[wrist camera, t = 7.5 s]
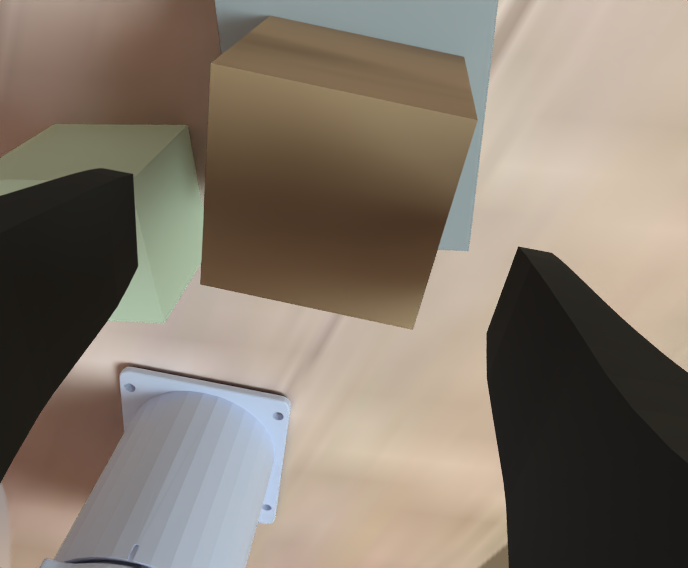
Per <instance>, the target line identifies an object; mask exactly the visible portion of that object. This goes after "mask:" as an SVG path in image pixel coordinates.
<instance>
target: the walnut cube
mask: <svg viewBox="0 0 688 568" xmlns="http://www.w3.org/2000/svg"><path fill="white" fill-rule="evenodd" d="M477 121H478V119H477V114H476V110H475V105H474V100H473V96H472V91H471V86H470V82H469V77H468V72H467V68H466V63H465V58H464V57H462V56H458V55H453V54H448V53H444V52H439V51H434V50H430V49H425V48H420V47H416V46H411V45H406V44H402V43H397V42H392V41H388V40H383V39H378V38H374V37H369V36H364V35H360V34H355V33H350V32H346V31H341V30H336V29H332V28H327V27H322V26H317V25H313V24H308V23H303V22H299V21H294V20H289V19H285V18H280V17H275V16H269V17H268V18H267V19H266V20H264V21H263V22H262V23H260V24H259V25H258V26H257V27H255V28H254V29H253V30H252V31H250V32H249V33H248V34H247V35H245V36H244V37H243V38H242V39H240V40H239V41H238V42H237V43H235V44H234V45H233V46H232V47H230V48H229V49H228V50H227V51H225V52H224V53H223V54H222V55H220V56H219V57H218V58H216V59H215V60H214V61H213V62H211V68H210V89H209V110H208V132H207V153H206V174H205V195H204V216H203V238H202V259H201V280H200V284H201V285H206V286H211V287H215V288H220V289H225V290H229V291H234V292H239V293H244V294H248V295H253V296H258V297H262V298H267V299H272V300H276V301H281V302H286V303H290V304H295V305H300V306H304V307H309V308H314V309H318V310H323V311H328V312H332V313H337V314H342V315H346V316H351V317H356V318H360V319H365V320H370V321H374V322H379V323H384V324H388V325H393V326H398V327H403V328H407V329H412V330H413V327H414V324H415V321H416V318H417V315H418V311H419V308H420V305H421V302H422V298H423V295H424V292H425V289H426V286H427V282H428V279H429V276H430V273H431V269H432V266H433V263H434V260H435V257H436V253H437V250H438V247H439V244H440V240H441V237H442V234H443V231H444V228H445V224H446V221H447V218H448V215H449V211H450V208H451V205H452V202H453V199H454V195H455V192H456V189H457V186H458V182H459V179H460V176H461V173H462V170H463V166H464V163H465V160H466V157H467V153H468V150H469V147H470V144H471V140H472V137H473V134H474V131H475V128H476V124H477Z"/></svg>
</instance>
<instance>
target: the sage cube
mask: <svg viewBox="0 0 688 568" xmlns="http://www.w3.org/2000/svg"><path fill="white" fill-rule="evenodd" d="M97 168H105V169H110V170H115V171H121V172H126V173H131V174H133V180H134V198H135V217H136V235H137V253H138V268H137V270H136V272H135V274H134V276H133V278H132V280H131V282H130V284H129V286H128V288H127V290H126V292H125V294H124V296H123V298H122V299H121V301H120V303H119V305H118V307H117V308H116V310H115V311H114V312H113V314H112V315H111V317H110V318H109V319H108V321H126V322H147V323H165V321H166V320H167V318H168V316H169V315H170V313H171V312H172V310H173V308H174V307H175V305H176V303H177V302H178V300H179V298H180V297H181V295H182V293H183V292H184V290H185V288H186V287H187V285H188V284H189V282H190V280H191V279H192V277H193V275H194V274H195V272H196V270H197V269H198V267H199V265H200V264H201V259H202V238H203V216H204V213H203V208H202V202H201V196H200V191H199V185H198V180H197V174H196V168H195V163H194V157H193V152H192V146H191V140H190V135H189V129H188V125H142V124H53V125H51V126H50V127H48V128H47V129H45V130H43V131H42V132H40V133H39V134H37V135H35V136H34V137H32V138H31V139H29V140H27V141H26V142H24V143H23V144H21V145H19V146H18V147H16V148H15V149H13V150H12V151H10V152H8V153H7V154H5V155H4V156H2V157H0V196H1V195H5V194H8V193H11V192H14V191H18V190H21V189H24V188H27V187H31V186H34V185H37V184H40V183H44V182H47V181H50V180H53V179H57V178H60V177H64V176H67V175H70V174H74V173H78V172H82V171H86V170H90V169H97Z"/></svg>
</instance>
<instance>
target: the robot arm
mask: <svg viewBox="0 0 688 568" xmlns="http://www.w3.org/2000/svg"><path fill="white" fill-rule="evenodd" d="M137 268H138V253H137V235H136V217H135V198H134V180H133V174H131V173H126V172H121V171H115V170H110V169H105V168H97V169H90V170H86V171H82V172H78V173H74V174H70V175H67V176H64V177H60V178H57V179H53V180H50V181H47V182H44V183H40V184H37V185H34V186H31V187H27V188H24V189H21V190H18V191H14V192H11V193H8V194H5V195H1V196H0V483H1V481H2V479H3V477H4V475H5V474H6V472H7V470H8V468H9V466H10V464H11V462H12V461H13V459H14V457H15V455H16V454H17V452H18V450H19V448H20V447H21V445H22V443H23V442H24V440H25V438H26V436H27V435H28V433H29V431H30V429H31V428H32V426H33V424H34V423H35V421H36V419H37V417H38V416H39V414H40V413H41V411H42V410H43V408H44V407H45V405H46V404H47V402H48V401H49V399H50V398H51V396H52V395H53V393H54V392H55V391H56V389H57V388H58V387H59V385H60V384H61V383H62V381H63V380H64V379H65V377H66V376H67V375H68V373H69V372H70V371H71V369H72V368H73V367H74V365H75V364H76V363H77V361H78V360H79V359H80V357H81V356H82V355H83V353H84V352H85V351H86V349H87V348H88V347H89V345H90V344H91V343H92V341H93V340H94V339H95V337H96V336H97V334H98V333H99V332H100V330H101V329H102V328H103V326H104V325H105V323H106V322H107V321H108V319H109V318H110V317H111V315H112V314H113V312H114V311H115V310H116V308H117V307H118V305H119V303H120V301H121V299H122V298H123V296H124V294H125V292H126V290H127V288H128V286H129V284H130V282H131V280H132V278H133V276H134V274H135V272H136V270H137ZM119 380H120V392H121V403H122V414H123V426H124V434H123V436H122V438H121V439H120V441H119V443H118V445H117V447H116V448H115V450H114V452H113V454H112V456H111V457H110V459H109V461H108V463H107V465H106V466H105V468H104V470H103V472H102V474H101V475H100V477H99V479H98V481H97V483H96V484H95V486H94V488H93V490H92V492H91V493H90V495H89V497H88V499H87V500H86V502H85V504H84V506H83V508H82V509H81V511H80V513H79V515H78V517H77V518H76V520H75V522H74V524H73V526H72V527H71V529H70V531H69V533H68V535H67V536H66V538H65V540H64V542H63V544H62V545H61V547H60V549H59V551H58V553H57V554H56V556H55V558H54V560H52V559H49V558H47V559H44V561H43V562H42V564H41V566H40V568H246V565H247V561H248V557H249V553H250V550H251V546H252V542H253V538H254V535H255V531H256V527H257V523H263V524H270V523H272V522H274V520H275V516H276V509H277V502H278V495H279V488H280V481H281V473H282V466H283V459H284V452H285V445H286V438H287V431H288V423H289V416H290V409H291V402H290V401H289V399H287V398H286V397H284V396H280V395H275V394H270V393H265V392H260V391H255V390H249V389H244V388H239V387H234V386H229V385H224V384H218V383H213V382H208V381H203V380H198V379H193V378H187V377H182V376H177V375H172V374H167V373H162V372H156V371H151V370H146V369H141V368H136V367H125V368H124V369H123V370H122V371H121V373H120V376H119ZM487 381H488V388H489V395H490V401H491V408H492V414H493V420H494V426H495V432H496V439H497V445H498V451H499V457H500V463H501V469H502V475H503V482H504V491H505V499H506V513H507V534H508V555H509V568H688V372H686V371H685V370H684V369H682V368H681V367H680V366H678V365H677V364H676V363H674V362H673V361H672V360H671V359H669V358H668V357H667V356H665V355H664V354H663V353H662V352H661V351H659V350H658V349H657V348H656V347H655V346H653V345H652V344H651V343H650V342H649V341H648V340H646V339H645V338H644V337H643V336H642V335H640V334H639V333H638V332H637V331H636V330H635V329H634V328H632V327H631V326H630V325H629V324H628V323H627V322H626V321H625V320H623V319H622V318H621V317H620V316H619V315H618V314H617V313H616V312H615V311H614V310H613V309H612V308H611V307H610V306H608V305H607V304H606V303H605V302H604V301H603V300H602V299H601V298H600V297H599V296H598V295H597V294H596V293H595V292H594V291H593V290H592V289H591V288H590V287H589V286H588V285H587V284H586V283H585V282H584V281H583V280H581V279H580V278H579V277H578V276H577V275H576V274H575V273H574V272H573V271H572V270H571V269H570V268H569V267H568V266H567V265H566V264H565V263H563V262H562V261H561V260H560V259H559V258H558V257H556V256H555V255H554V254H552V253H549V252H544V251H539V250H534V249H528V248H523V247H518V249H517V252H516V255H515V257H514V260H513V263H512V265H511V268H510V271H509V274H508V276H507V279H506V282H505V284H504V287H503V290H502V293H501V295H500V298H499V301H498V304H497V306H496V309H495V312H494V314H493V317H492V320H491V323H490V325H489V328H488V331H487ZM129 383H130V384H129ZM131 384H132V385H131ZM133 385H134V386H133ZM276 412H279V413H281V414H278V413H276Z"/></svg>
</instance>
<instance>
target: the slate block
mask: <svg viewBox="0 0 688 568" xmlns="http://www.w3.org/2000/svg"><path fill="white" fill-rule="evenodd" d="M215 7H216V16H217V24H218V32H219V40H220V49H221V55H222V54H223V53H224V52H225V51H227V50H228V49H229V48H230V47H232V46H233V45H234V44H235V43H237V42H238V41H239V40H240V39H242V38H243V37H244V36H245V35H247V34H248V33H249V32H250V31H252V30H253V29H254V28H255V27H257V26H258V25H259V24H260V23H262V22H263V21H264V20H266V19H267V18H268V17H269V16H275V17H280V18H285V19H289V20H294V21H299V22H303V23H308V24H313V25H317V26H322V27H327V28H332V29H336V30H341V31H346V32H350V33H355V34H360V35H364V36H369V37H374V38H378V39H383V40H388V41H392V42H397V43H402V44H406V45H411V46H416V47H420V48H425V49H430V50H434V51H439V52H444V53H448V54H453V55H458V56H462V57H464V58H465V63H466V68H467V72H468V77H469V82H470V86H471V91H472V96H473V100H474V105H475V110H476V114H477V119H478V121H477V124H476V128H475V131H474V134H473V137H472V140H471V144H470V147H469V150H468V153H467V157H466V160H465V163H464V166H463V170H462V173H461V176H460V179H459V182H458V186H457V189H456V192H455V195H454V199H453V202H452V205H451V208H450V211H449V215H448V218H447V221H446V224H445V228H444V231H443V234H442V237H441V240H440V244H439V247H438V250H456V251H469V244H470V236H471V227H472V219H473V210H474V202H475V193H476V185H477V176H478V168H479V159H480V151H481V142H482V134H483V125H484V117H485V109H486V100H487V92H488V83H489V75H490V66H491V58H492V49H493V41H494V32H495V24H496V15H497V7H498V0H215Z"/></svg>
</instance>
